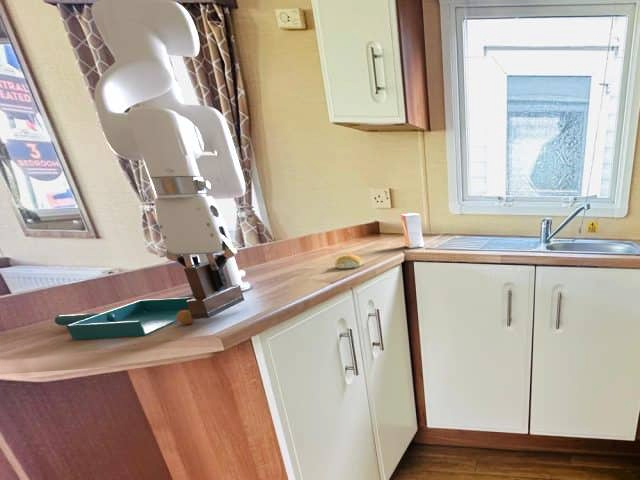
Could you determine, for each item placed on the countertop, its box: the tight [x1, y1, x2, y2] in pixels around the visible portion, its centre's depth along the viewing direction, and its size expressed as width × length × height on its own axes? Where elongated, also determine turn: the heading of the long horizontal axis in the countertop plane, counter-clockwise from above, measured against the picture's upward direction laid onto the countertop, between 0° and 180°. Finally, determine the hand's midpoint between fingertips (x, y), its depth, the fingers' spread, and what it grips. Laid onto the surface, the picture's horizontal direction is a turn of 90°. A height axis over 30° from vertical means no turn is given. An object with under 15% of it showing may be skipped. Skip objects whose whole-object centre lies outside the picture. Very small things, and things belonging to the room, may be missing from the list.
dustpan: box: [53, 296, 194, 341], centre depth 85 cm, size 22×19×3 cm
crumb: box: [177, 310, 195, 325], centre depth 83 cm, size 3×3×3 cm
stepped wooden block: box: [183, 262, 245, 320], centre depth 84 cm, size 14×3×9 cm, turn 5°
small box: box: [400, 213, 425, 249], centre depth 179 cm, size 8×6×13 cm
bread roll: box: [334, 253, 363, 270], centre depth 139 cm, size 8×9×4 cm
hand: (213, 289), depth 84 cm, fingers closed on stepped wooden block, 2 cm apart
